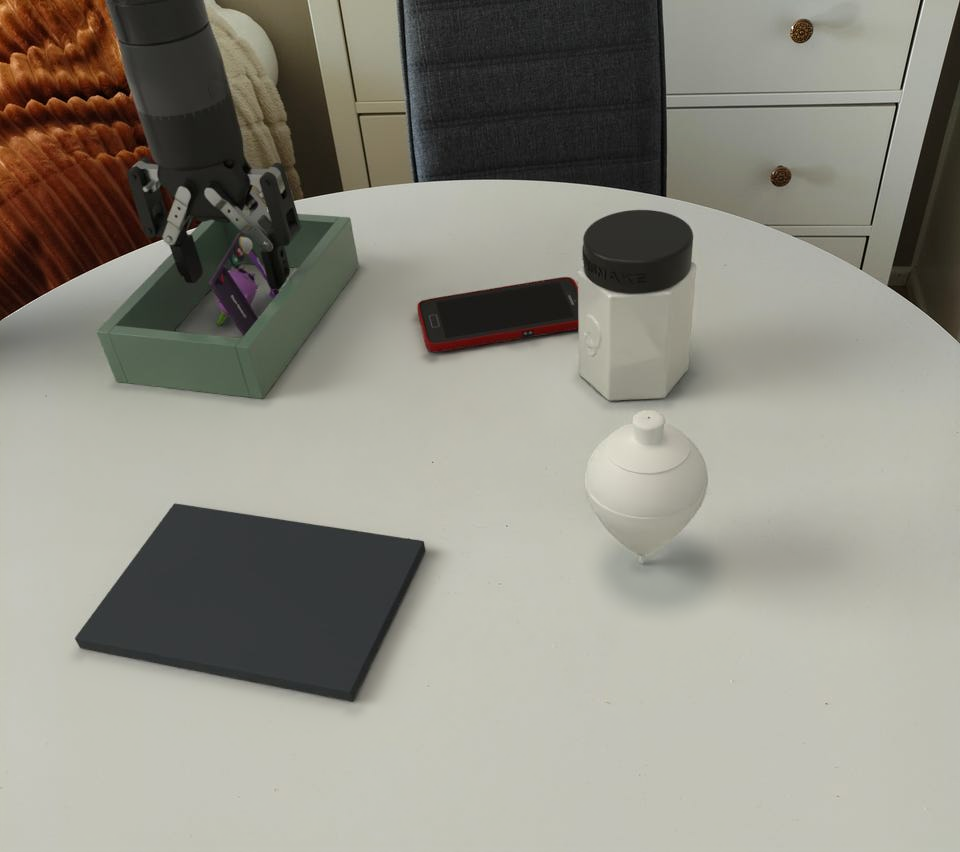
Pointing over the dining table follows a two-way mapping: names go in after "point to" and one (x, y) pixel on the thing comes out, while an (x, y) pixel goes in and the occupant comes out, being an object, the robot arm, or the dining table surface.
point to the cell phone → (499, 314)
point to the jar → (635, 304)
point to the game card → (238, 285)
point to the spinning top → (646, 482)
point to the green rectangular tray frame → (225, 360)
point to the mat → (257, 599)
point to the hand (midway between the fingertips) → (236, 281)
